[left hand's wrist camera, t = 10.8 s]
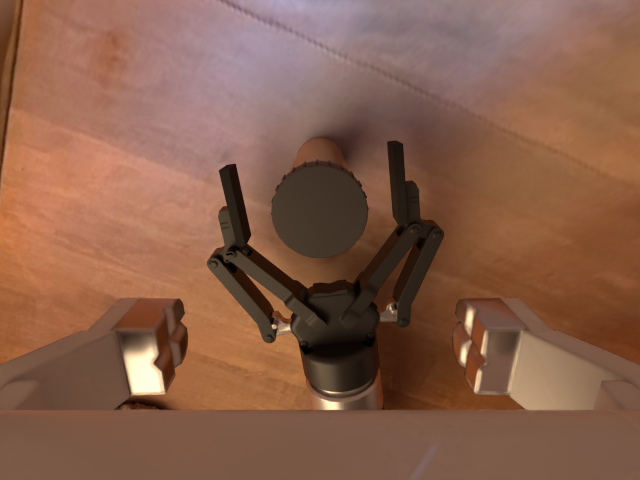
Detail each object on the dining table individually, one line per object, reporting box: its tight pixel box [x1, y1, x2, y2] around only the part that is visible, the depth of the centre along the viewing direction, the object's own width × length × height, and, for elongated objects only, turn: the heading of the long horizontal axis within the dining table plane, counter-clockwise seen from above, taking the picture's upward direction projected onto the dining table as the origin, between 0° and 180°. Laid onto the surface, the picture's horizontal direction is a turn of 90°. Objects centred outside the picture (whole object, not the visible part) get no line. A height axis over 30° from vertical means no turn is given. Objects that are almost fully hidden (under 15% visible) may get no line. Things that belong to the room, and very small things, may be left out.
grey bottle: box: [290, 138, 350, 172], centre depth 28 cm, size 5×5×17 cm
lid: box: [271, 159, 368, 258], centre depth 21 cm, size 5×5×2 cm
